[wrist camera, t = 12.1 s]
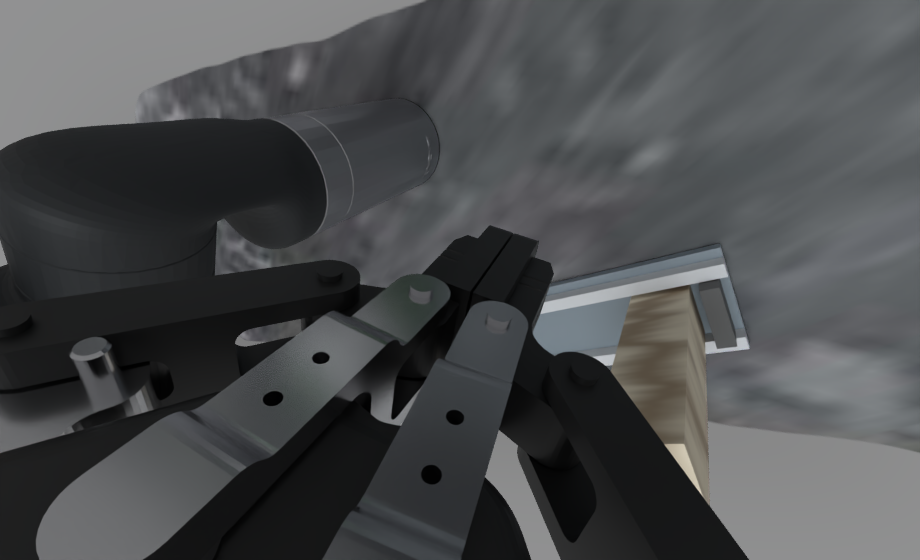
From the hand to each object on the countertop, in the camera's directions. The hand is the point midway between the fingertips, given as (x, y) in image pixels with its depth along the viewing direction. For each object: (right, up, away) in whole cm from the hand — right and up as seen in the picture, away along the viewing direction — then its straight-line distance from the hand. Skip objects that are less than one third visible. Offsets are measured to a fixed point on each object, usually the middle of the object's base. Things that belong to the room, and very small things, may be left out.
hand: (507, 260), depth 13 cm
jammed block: (+18, -4, +28) cm, 33 cm away
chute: (+14, -4, +31) cm, 35 cm away
